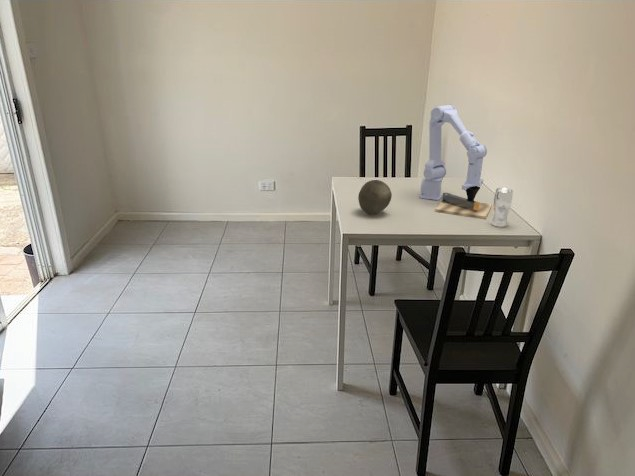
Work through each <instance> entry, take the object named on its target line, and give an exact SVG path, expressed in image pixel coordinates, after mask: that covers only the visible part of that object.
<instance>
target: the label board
mask: <svg viewBox="0 0 635 476" xmlns="http://www.w3.org/2000/svg"><path fill="white" fill-rule="evenodd" d="M492 206H493V204H492V203H486V202H485V203H484V202H480V203H479V209H477V210H473V209H470V208H467V207H464V206H460V205H457V204H454V203H451V202H447V201H443V200H442V199H441V201H440V202H439V204H438V205H437V206H436V207H435V209H434V212H436V213H443V214H449V215H456V216H463V217H469V218H474V219H482V220H486V219H487V218H488V215H489V213H490V210H491V208H492Z"/></svg>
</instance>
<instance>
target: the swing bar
mask: <svg viewBox="0 0 635 476" xmlns="http://www.w3.org/2000/svg"><path fill="white" fill-rule="evenodd" d="M442 200H443V201H447V202H451V203H454V204H457V205H460V206H464V207H467V208H470V209H473V210H477V209H479V203H481V201H480V202H479V201H475V200H474V201H473V200H469V199H467V197H466V198H465V197H462V196H458V195H455V194H452V193H449V192H443V193H442V197H441V201H442Z"/></svg>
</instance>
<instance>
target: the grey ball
mask: <svg viewBox="0 0 635 476" xmlns="http://www.w3.org/2000/svg"><path fill="white" fill-rule="evenodd" d="M392 195H393V193H392V191H391V188H390V186H389V185H388V184H386V182H384V181H382V180H379V179H373V180H369V181H367V182H365V183H364V184H363V185H362V186H361V188H360V190H359V192H358V197H357V198H358V205H359V207H360V209H361V210H362V211H363V212H365V213H366V214H368V215H376V214H379V213H382V212H383V211H384V210H385V209H386V208H387V207H388V206H389V205H390V203H391V201H392V197H393V196H392Z"/></svg>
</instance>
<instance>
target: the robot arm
mask: <svg viewBox="0 0 635 476" xmlns="http://www.w3.org/2000/svg"><path fill="white" fill-rule="evenodd" d="M428 123H429V127H428V128H429V130H428V131H429V143H428V146H429V150H428V151H429V155H428V156H429V160H428V161H427V162H426V163H425V164H424V171H423V176H424V178H422V179H421V183H420V193H419V198H420V199H427V200H433V201H434V200H435V201H440V199H442V197H443V194H441V192H442V183H443V179H444V178H445V177H446V174H447V170H446V169H447V168H446V163H445V161H444V160H442V126H444V124H445V123H449V124H450V125H451V126H452V127H453V129H454V130H455V131H456V133H457V134H458V135H459V141H460V142H461V144H462V145H463V146H464V148H465V149H466V156H467V158H468V165H467V172H466V173H467V174H466V181H464V183H463V184H461V190H464V191H465V194H466V199H469V200H473V201H475V198H476V196H477V194H478V192H479V191H480V189H481V186H482V185H483V184H484V179H481V176H482V168H483V161H484V158H485V157H486V155H487V153H488V151H487V147H486V145H484V144H482V143H480V142H479V141H478V140H477V138H476V137H475V134H474V132H472V131H469V130H467V128H466V127H465V125H464V123H463V122H462V119H461V118H460V116H459V114H458V110H457V108H456V106H455V105H453V104H446V105H440V106H439V105H437V106H436V105H435V106H434V107H433V108H432V109H431V110H430V120H429V122H428Z"/></svg>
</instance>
